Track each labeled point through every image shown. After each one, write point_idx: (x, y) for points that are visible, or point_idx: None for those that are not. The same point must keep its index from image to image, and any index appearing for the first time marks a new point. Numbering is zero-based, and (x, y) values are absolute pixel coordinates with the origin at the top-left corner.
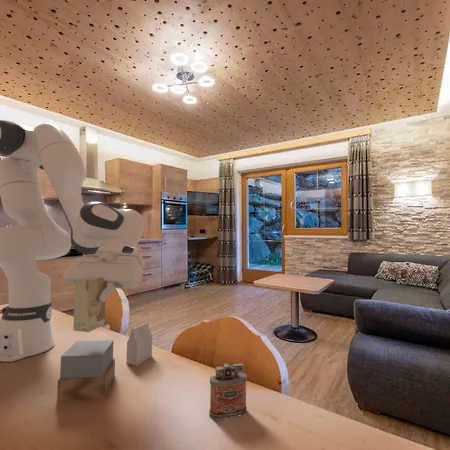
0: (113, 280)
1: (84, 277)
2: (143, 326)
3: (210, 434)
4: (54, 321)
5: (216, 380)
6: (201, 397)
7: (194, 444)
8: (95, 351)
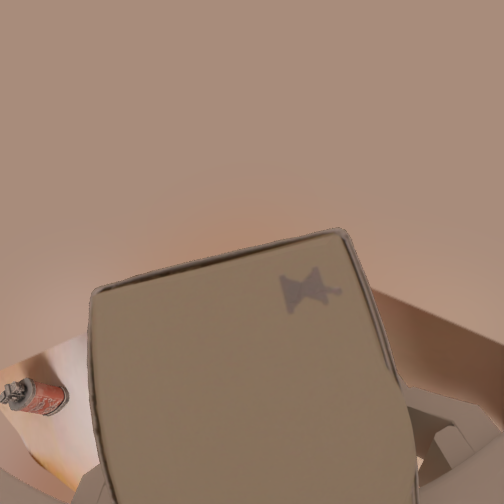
0: (43, 494)
1: (351, 400)
2: None
3: (61, 360)
4: None
5: (26, 382)
6: (88, 433)
7: (70, 340)
8: None
